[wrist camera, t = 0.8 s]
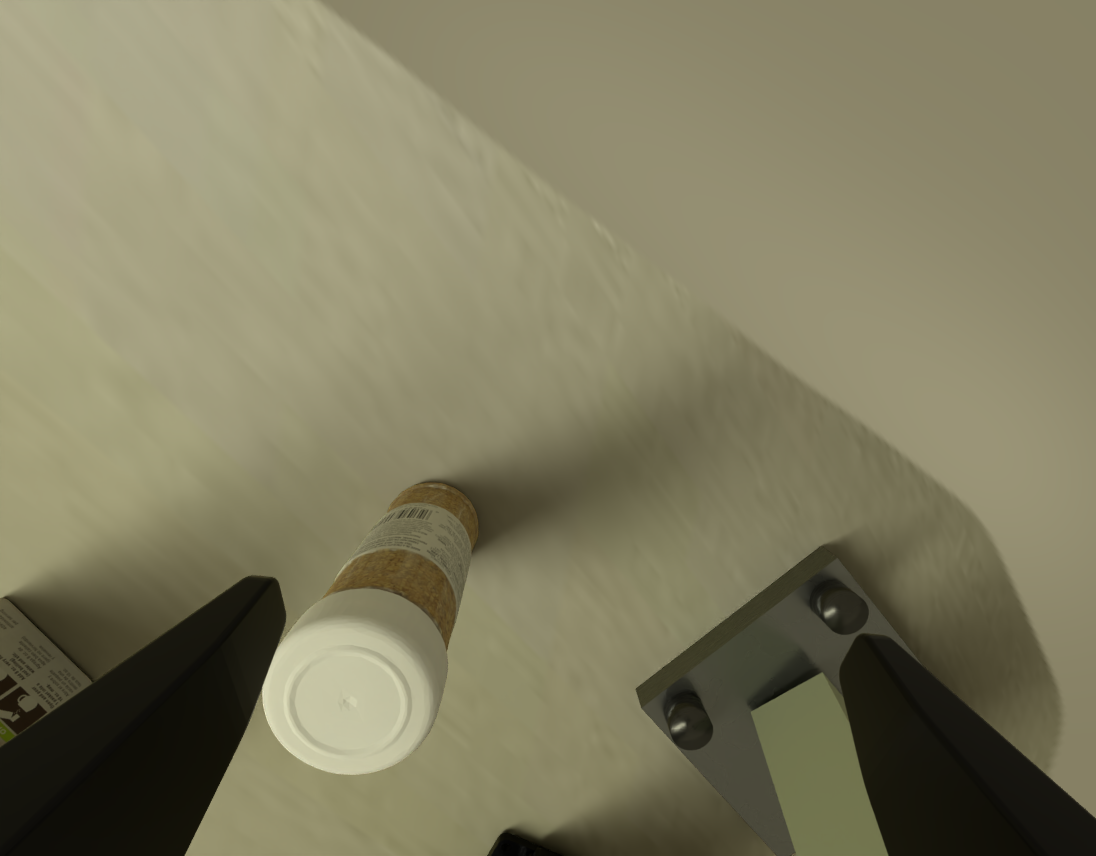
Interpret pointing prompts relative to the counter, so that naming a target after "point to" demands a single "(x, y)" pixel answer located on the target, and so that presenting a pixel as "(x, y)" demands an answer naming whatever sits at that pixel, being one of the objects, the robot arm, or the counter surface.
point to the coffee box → (31, 673)
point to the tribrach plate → (759, 680)
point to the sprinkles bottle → (376, 640)
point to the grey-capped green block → (818, 772)
